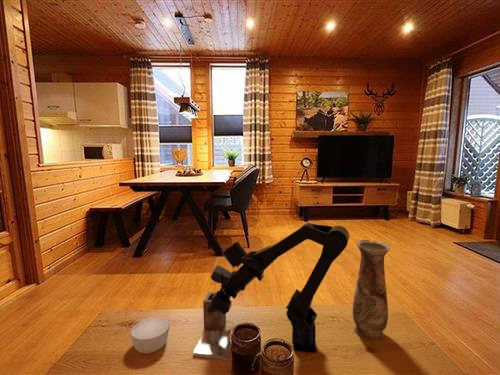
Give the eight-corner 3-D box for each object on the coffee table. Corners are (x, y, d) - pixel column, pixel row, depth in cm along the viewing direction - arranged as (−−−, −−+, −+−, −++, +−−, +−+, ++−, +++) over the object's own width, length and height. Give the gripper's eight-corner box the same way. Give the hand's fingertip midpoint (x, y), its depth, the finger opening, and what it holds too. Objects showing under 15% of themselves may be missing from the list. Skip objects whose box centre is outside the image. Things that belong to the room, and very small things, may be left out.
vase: (386, 327, 88) (390, 241, 85) (387, 348, 79) (392, 251, 76) (353, 320, 93) (355, 237, 90) (350, 338, 83) (354, 246, 80)
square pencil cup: (225, 320, 93) (225, 293, 92) (221, 331, 87) (220, 302, 86) (209, 318, 94) (209, 292, 93) (203, 329, 88) (203, 301, 87)
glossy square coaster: (234, 336, 84) (234, 322, 84) (226, 360, 74) (226, 343, 74) (204, 333, 86) (204, 319, 85) (193, 355, 76) (192, 339, 75)
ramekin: (133, 336, 85) (132, 320, 84) (169, 328, 89) (168, 314, 88) (129, 360, 74) (128, 343, 74) (170, 351, 78) (169, 334, 77)
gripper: (231, 250, 97) (203, 277, 99) (217, 271, 78) (183, 303, 81) (253, 272, 96) (224, 298, 99) (243, 298, 78) (208, 330, 81)
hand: (210, 306), depth 90 cm, fingers closed on square pencil cup, 6 cm apart
